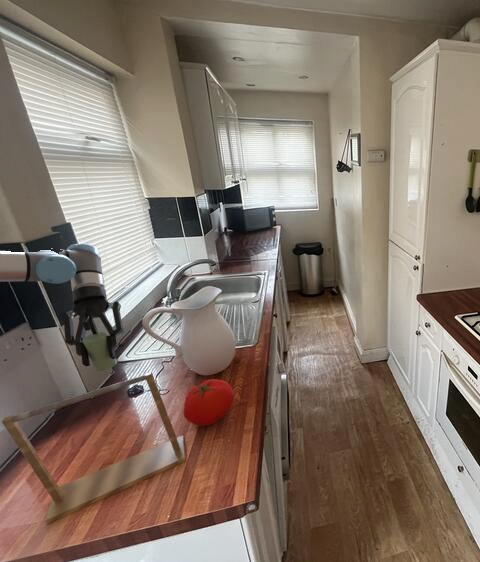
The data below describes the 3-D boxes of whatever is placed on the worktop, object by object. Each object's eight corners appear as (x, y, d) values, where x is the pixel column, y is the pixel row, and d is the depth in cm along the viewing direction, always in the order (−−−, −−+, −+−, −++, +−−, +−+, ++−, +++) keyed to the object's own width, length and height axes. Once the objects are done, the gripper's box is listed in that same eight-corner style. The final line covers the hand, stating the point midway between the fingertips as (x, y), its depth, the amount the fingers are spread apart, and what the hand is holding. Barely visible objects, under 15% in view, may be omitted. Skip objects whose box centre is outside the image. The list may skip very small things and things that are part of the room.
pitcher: (229, 346, 121) (212, 281, 111) (247, 364, 110) (231, 294, 99) (159, 375, 106) (132, 303, 95) (171, 400, 95) (143, 321, 84)
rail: (47, 524, 63) (-15, 437, 54) (57, 491, 69) (4, 408, 60) (186, 461, 75) (155, 381, 66) (184, 438, 82) (156, 362, 72)
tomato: (209, 397, 95) (200, 369, 91) (245, 401, 93) (238, 373, 89) (177, 432, 83) (165, 402, 79) (218, 437, 81) (208, 407, 77)
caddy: (93, 373, 89) (71, 324, 83) (96, 364, 93) (75, 316, 87) (116, 366, 91) (96, 319, 85) (118, 358, 95) (99, 311, 89)
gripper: (129, 288, 102) (141, 353, 95) (55, 302, 93) (63, 375, 86) (122, 278, 96) (135, 347, 89) (42, 292, 87) (49, 370, 80)
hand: (99, 361), depth 88 cm, fingers closed on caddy, 5 cm apart
